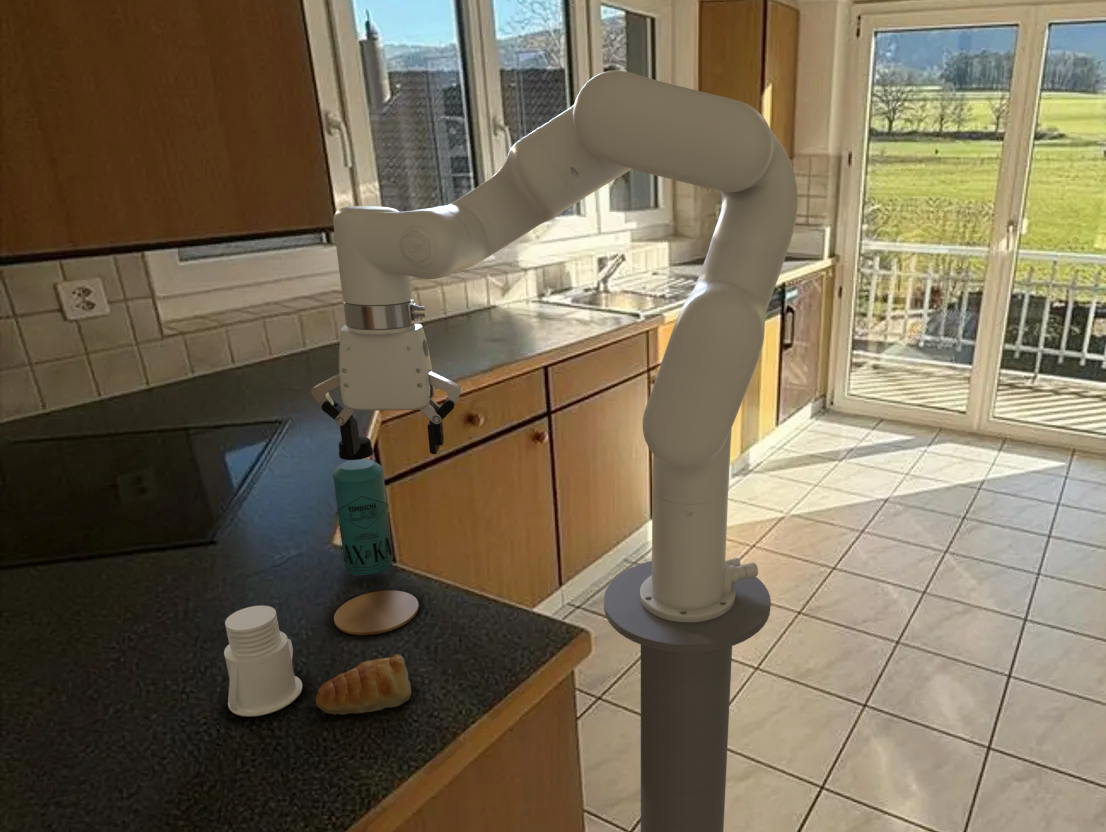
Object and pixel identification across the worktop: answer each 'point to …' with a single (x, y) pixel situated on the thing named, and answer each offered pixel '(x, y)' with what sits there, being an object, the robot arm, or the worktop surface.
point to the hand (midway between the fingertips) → (395, 451)
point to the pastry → (366, 687)
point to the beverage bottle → (362, 512)
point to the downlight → (259, 663)
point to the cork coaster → (376, 612)
